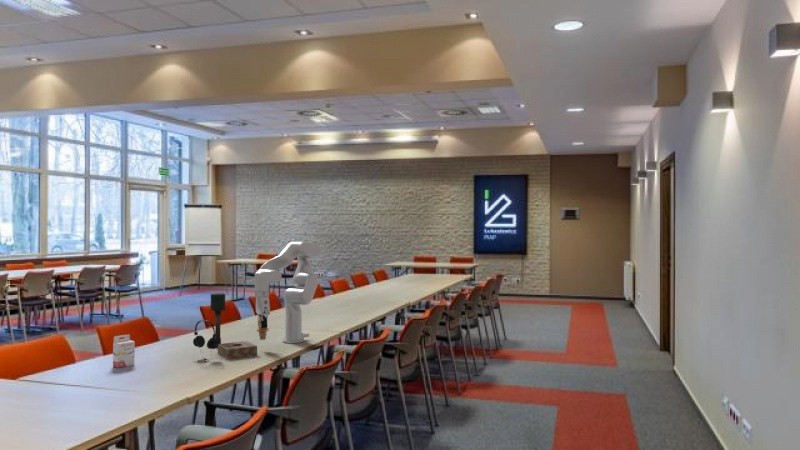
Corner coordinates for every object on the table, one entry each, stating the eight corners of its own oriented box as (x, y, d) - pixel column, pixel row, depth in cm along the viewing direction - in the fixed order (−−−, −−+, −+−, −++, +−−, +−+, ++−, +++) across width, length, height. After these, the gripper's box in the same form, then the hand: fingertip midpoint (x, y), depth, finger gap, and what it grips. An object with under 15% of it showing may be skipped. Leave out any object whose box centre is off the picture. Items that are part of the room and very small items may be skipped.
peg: (266, 337, 318) (265, 314, 318) (270, 339, 313) (270, 316, 312) (255, 338, 314) (254, 315, 314) (259, 340, 309) (258, 317, 309)
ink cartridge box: (118, 368, 274) (118, 337, 274) (112, 366, 277) (112, 336, 277) (135, 364, 281) (135, 334, 281) (129, 363, 284) (129, 333, 284)
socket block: (246, 349, 315) (246, 340, 315) (257, 355, 302) (257, 345, 302) (217, 353, 306) (217, 344, 306) (227, 359, 293) (227, 349, 293)
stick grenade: (228, 345, 326) (228, 293, 326) (222, 348, 317) (222, 295, 317) (213, 345, 327) (214, 293, 327) (207, 348, 318) (207, 294, 318)
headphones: (182, 360, 290) (182, 321, 290) (199, 356, 300) (200, 318, 300) (204, 363, 283) (204, 323, 283) (221, 359, 293) (221, 320, 293)
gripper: (274, 295, 308) (275, 328, 308) (262, 291, 322) (263, 323, 322) (261, 296, 304) (261, 330, 304) (250, 292, 318) (250, 325, 318)
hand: (262, 326), depth 313 cm, fingers closed on peg, 4 cm apart
